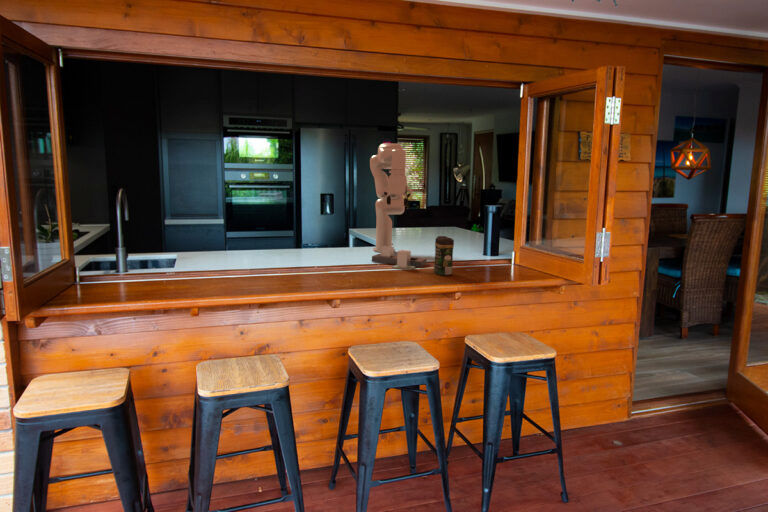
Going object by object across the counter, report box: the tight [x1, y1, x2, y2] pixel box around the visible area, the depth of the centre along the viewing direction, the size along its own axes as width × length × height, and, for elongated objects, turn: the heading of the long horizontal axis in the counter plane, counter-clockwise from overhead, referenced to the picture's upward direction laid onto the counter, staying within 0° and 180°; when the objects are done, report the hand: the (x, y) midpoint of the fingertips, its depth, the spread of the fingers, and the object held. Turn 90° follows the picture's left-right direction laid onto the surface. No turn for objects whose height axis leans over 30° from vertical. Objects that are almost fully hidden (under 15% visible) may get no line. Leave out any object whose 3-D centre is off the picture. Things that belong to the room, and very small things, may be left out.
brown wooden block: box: [380, 246, 395, 258], centre depth 282 cm, size 5×5×8 cm
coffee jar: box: [433, 235, 455, 277], centre depth 254 cm, size 10×8×19 cm
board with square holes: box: [371, 253, 428, 268], centre depth 279 cm, size 9×28×3 cm, turn 66°
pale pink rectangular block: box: [396, 249, 412, 268], centre depth 267 cm, size 5×5×8 cm
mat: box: [391, 264, 416, 271], centre depth 267 cm, size 7×10×1 cm
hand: (397, 205), depth 282 cm, fingers open, 9 cm apart
